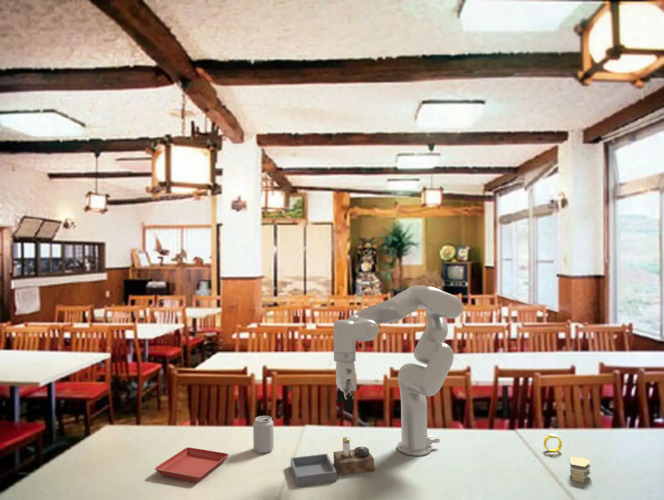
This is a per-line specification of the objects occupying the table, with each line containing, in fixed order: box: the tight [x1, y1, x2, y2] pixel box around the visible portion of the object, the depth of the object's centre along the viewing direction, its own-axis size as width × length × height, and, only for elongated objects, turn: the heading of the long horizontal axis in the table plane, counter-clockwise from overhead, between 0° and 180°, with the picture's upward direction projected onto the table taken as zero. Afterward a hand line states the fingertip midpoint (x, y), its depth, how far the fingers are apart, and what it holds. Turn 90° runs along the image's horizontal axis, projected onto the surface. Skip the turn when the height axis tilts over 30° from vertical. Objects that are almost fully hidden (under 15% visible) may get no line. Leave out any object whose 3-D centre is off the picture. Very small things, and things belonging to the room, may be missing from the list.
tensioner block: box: [333, 446, 375, 476], centre depth 157 cm, size 12×9×6 cm
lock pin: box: [342, 436, 351, 459], centre depth 157 cm, size 2×2×10 cm
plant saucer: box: [154, 446, 229, 483], centre depth 158 cm, size 18×18×3 cm
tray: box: [290, 453, 338, 487], centre depth 153 cm, size 13×14×3 cm
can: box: [252, 415, 275, 454], centre depth 172 cm, size 8×8×12 cm
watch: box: [543, 433, 563, 453], centre depth 167 cm, size 6×3×6 cm, turn 88°
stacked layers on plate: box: [569, 456, 591, 483], centre depth 148 cm, size 10×9×6 cm
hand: (345, 406), depth 157 cm, fingers open, 9 cm apart
